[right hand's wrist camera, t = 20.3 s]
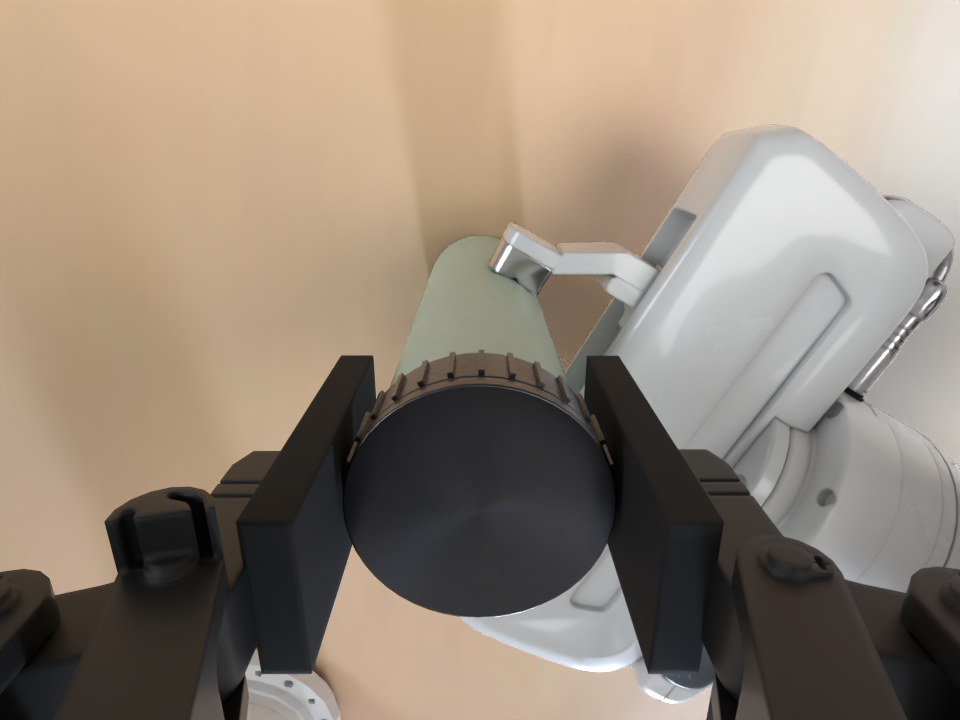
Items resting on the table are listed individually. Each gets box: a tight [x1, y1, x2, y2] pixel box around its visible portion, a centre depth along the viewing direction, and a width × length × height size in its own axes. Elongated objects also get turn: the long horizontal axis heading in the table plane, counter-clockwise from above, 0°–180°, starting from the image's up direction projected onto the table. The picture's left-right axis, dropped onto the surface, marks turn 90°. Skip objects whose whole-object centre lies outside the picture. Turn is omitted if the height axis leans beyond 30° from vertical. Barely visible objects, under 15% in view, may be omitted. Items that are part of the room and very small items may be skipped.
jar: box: [390, 235, 570, 388], centre depth 19 cm, size 4×4×16 cm
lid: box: [343, 350, 617, 618], centre depth 11 cm, size 5×5×2 cm
